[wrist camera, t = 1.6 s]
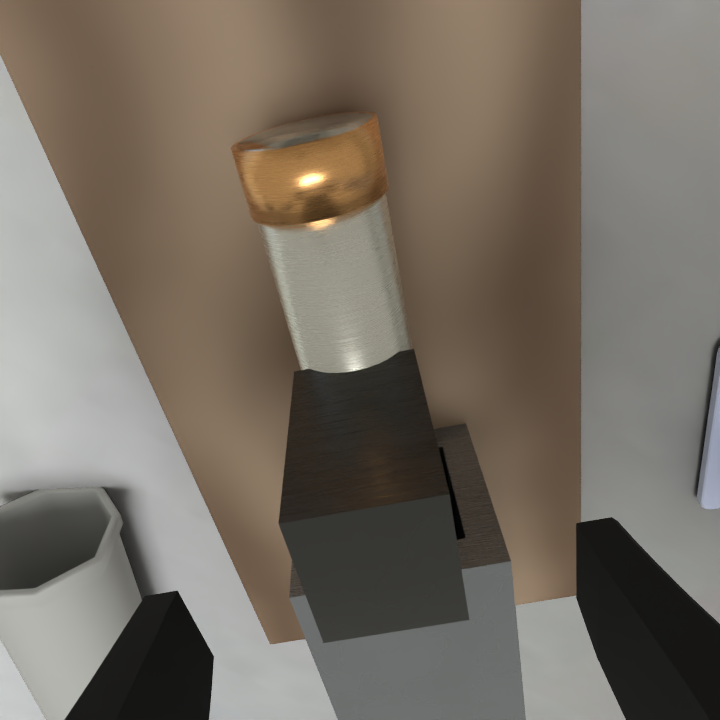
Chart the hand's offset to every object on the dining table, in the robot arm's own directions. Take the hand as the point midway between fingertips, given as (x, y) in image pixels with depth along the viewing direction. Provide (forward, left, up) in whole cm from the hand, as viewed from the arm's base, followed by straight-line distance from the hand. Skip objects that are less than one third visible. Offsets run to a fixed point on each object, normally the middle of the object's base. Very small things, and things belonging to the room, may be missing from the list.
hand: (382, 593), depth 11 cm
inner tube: (0, +3, -8) cm, 8 cm away
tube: (+15, +17, -11) cm, 25 cm away
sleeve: (0, +9, -10) cm, 13 cm away
